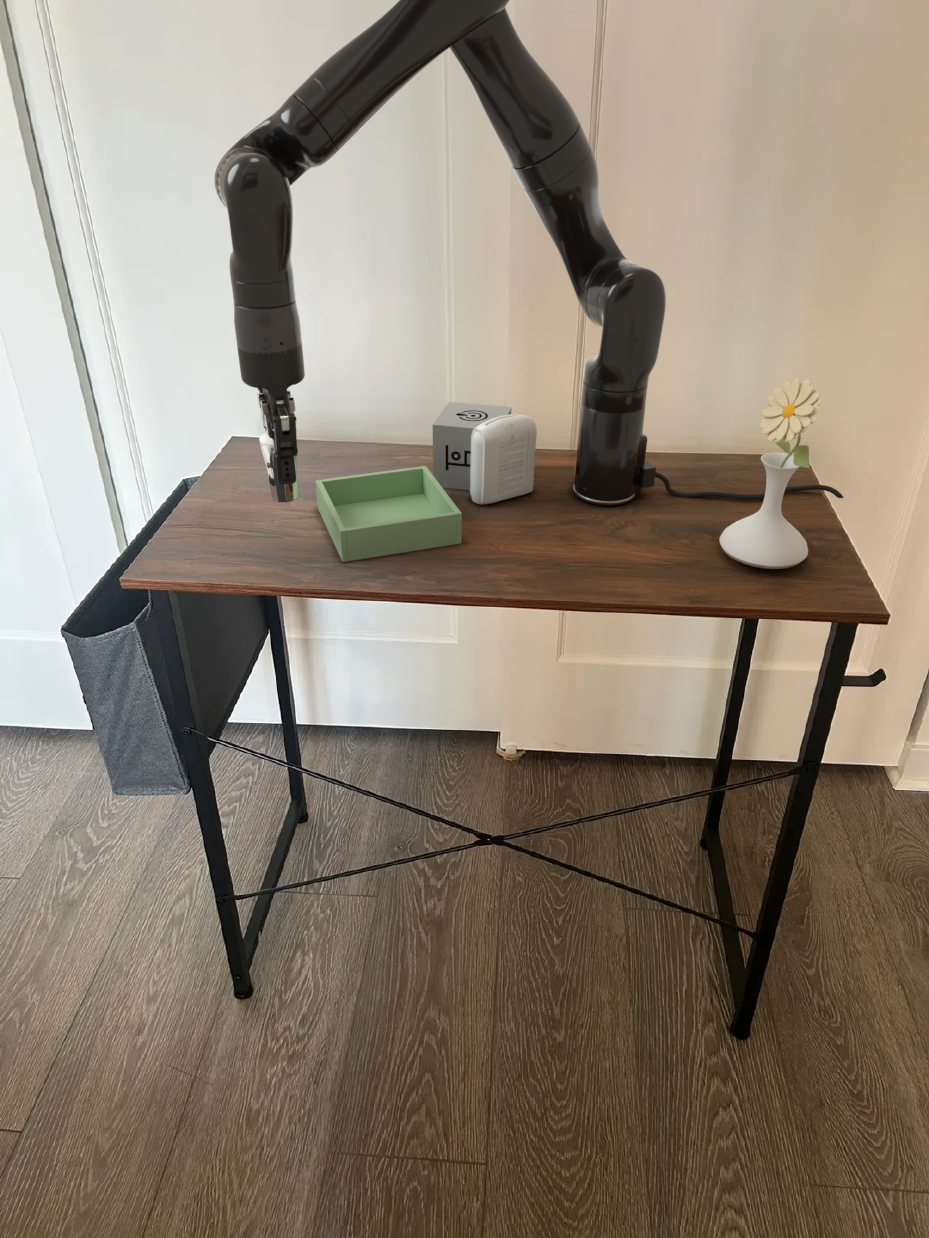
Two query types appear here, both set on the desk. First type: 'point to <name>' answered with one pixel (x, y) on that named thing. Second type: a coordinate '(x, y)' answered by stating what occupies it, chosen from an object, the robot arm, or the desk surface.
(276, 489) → the milkshake
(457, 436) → the icon cube
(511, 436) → the photo printer
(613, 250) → the robot arm
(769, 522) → the flower in vase
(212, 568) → the desk surface
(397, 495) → the tote
